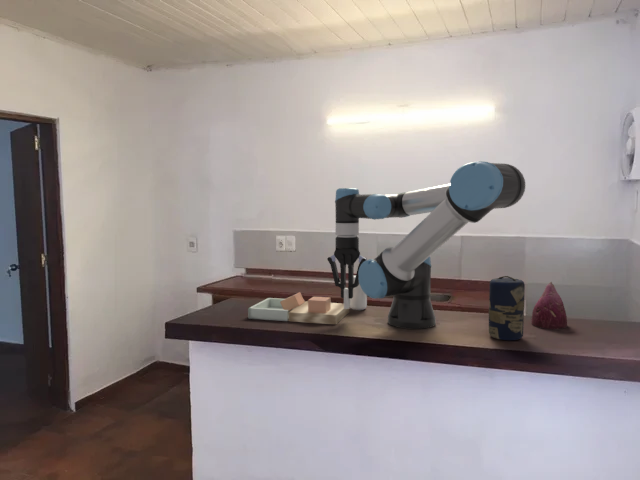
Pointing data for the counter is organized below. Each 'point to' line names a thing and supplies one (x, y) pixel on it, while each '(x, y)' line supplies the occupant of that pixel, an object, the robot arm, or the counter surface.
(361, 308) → the beverage can
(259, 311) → the tray
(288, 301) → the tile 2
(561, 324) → the vegetable
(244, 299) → the counter surface
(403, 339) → the counter surface
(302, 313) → the board
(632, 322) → the counter surface
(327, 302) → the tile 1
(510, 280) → the canister
